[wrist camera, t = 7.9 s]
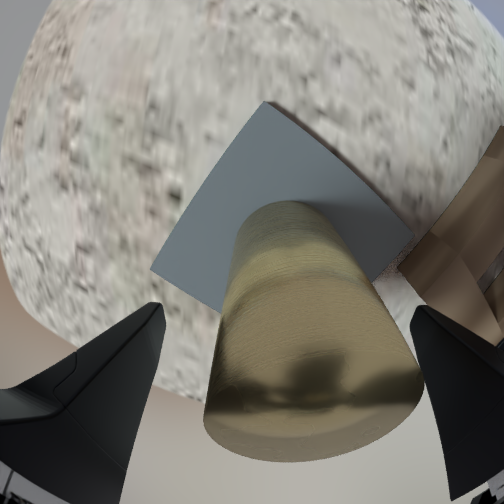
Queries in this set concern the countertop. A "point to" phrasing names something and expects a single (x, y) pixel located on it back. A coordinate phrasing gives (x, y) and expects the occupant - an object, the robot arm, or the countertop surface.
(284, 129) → the mat
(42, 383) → the robot arm
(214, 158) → the countertop surface
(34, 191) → the countertop surface
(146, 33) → the countertop surface
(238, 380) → the end plug
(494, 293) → the housing
